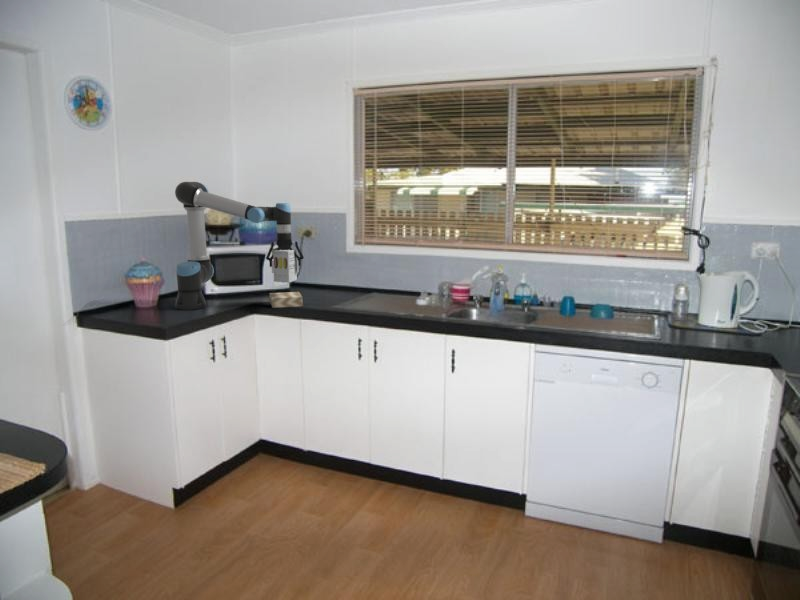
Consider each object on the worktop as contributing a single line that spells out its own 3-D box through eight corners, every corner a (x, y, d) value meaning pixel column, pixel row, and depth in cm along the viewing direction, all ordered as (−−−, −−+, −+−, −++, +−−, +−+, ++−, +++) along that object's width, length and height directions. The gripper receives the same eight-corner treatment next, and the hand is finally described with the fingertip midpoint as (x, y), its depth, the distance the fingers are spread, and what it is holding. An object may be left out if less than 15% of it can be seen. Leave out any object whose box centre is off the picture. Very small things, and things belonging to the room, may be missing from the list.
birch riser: (272, 307, 297) (272, 298, 296) (269, 301, 312) (269, 293, 311) (302, 306, 302) (302, 297, 301) (299, 300, 317) (298, 291, 316)
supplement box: (273, 281, 302) (272, 250, 298) (281, 279, 310) (280, 248, 307) (289, 282, 299) (288, 251, 296) (297, 280, 308) (296, 249, 304)
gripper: (260, 233, 293) (262, 274, 297) (308, 232, 300) (309, 272, 304) (259, 232, 300) (261, 272, 304) (306, 231, 307) (307, 270, 311)
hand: (285, 272), depth 304 cm, fingers closed on supplement box, 12 cm apart
